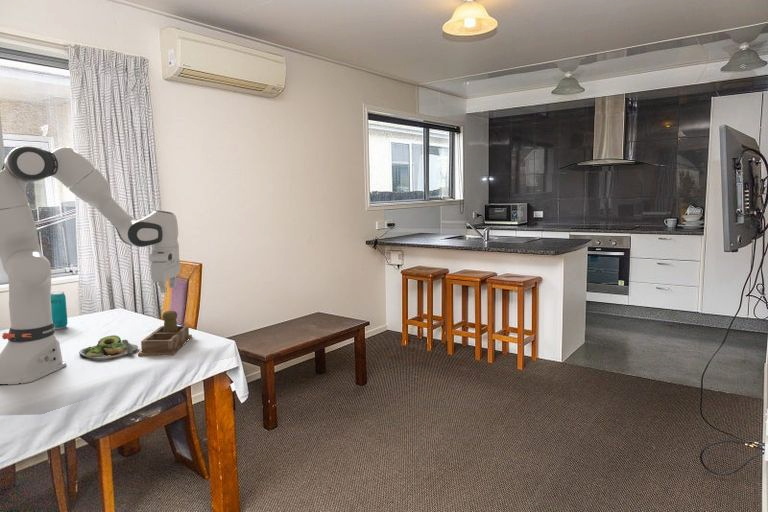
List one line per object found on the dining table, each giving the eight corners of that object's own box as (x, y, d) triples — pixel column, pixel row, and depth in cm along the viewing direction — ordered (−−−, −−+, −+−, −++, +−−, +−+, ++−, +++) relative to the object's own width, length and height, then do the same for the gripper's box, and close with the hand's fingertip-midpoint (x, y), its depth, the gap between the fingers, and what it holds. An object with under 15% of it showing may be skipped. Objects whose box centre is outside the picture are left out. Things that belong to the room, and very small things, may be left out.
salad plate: (152, 351, 181) (152, 339, 180) (104, 366, 166) (103, 352, 165) (121, 342, 191) (120, 331, 190) (72, 355, 175) (71, 343, 175)
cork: (173, 342, 187) (172, 313, 185) (159, 341, 188) (157, 312, 186) (182, 337, 193) (181, 309, 191) (168, 336, 194) (167, 309, 192)
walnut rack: (173, 355, 176) (172, 341, 175) (138, 356, 175) (137, 342, 174) (192, 336, 197) (191, 324, 197) (160, 337, 196) (160, 325, 196)
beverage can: (52, 326, 210) (50, 292, 208) (68, 325, 212) (66, 291, 210) (50, 330, 205) (47, 294, 203) (66, 328, 207) (63, 293, 205)
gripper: (167, 250, 196) (169, 284, 198) (147, 257, 176) (149, 295, 178) (183, 250, 196) (185, 284, 198) (165, 257, 176) (167, 295, 178)
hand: (168, 290), depth 188 cm, fingers open, 8 cm apart
